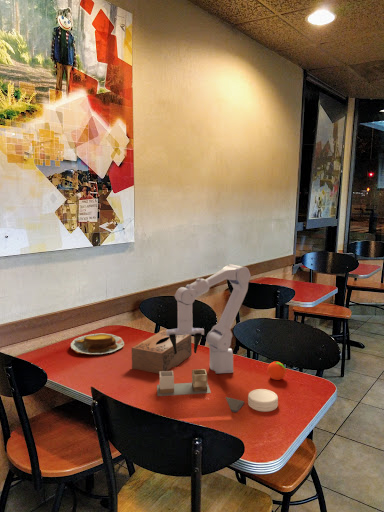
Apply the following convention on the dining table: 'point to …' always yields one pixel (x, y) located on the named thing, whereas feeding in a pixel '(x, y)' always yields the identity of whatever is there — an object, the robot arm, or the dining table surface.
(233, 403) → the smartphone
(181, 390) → the pin board
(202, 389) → the birch sleeve
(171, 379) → the cream square cup
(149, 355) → the tissue box cover
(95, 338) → the food on plate
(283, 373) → the clementine
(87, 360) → the dining table surface
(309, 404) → the dining table surface
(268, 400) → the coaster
